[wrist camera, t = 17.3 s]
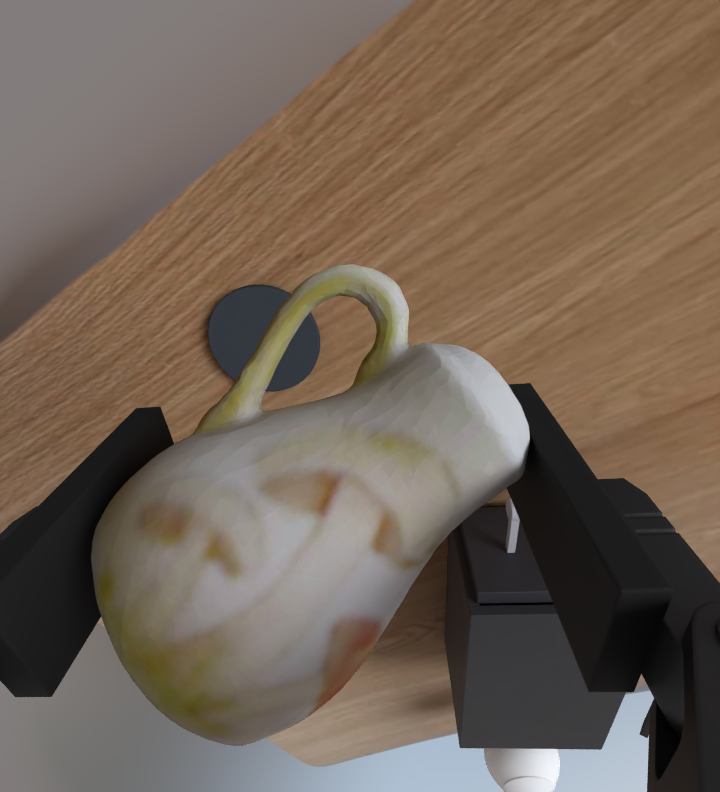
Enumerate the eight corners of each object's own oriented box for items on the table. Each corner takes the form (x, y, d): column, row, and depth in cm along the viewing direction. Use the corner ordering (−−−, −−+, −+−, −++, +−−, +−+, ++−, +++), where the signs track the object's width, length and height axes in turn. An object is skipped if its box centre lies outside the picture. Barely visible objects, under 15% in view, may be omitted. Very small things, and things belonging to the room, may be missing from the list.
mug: (564, 420, 13) (537, 885, 7) (322, 430, 18) (206, 697, 13) (487, 197, 8) (266, 988, 3) (197, 302, 14) (-61, 629, 8)
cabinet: (449, 510, 38) (470, 615, 29) (592, 506, 37) (660, 613, 28) (444, 639, 47) (459, 748, 38) (559, 638, 46) (601, 749, 38)
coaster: (198, 288, 29) (194, 290, 28) (312, 280, 28) (311, 282, 28) (224, 390, 33) (222, 394, 32) (326, 385, 32) (325, 388, 32)
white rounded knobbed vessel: (464, 695, 53) (486, 827, 42) (480, 661, 49) (508, 796, 39) (524, 702, 53) (560, 834, 43) (544, 669, 49) (589, 805, 39)
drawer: (460, 462, 34) (482, 542, 27) (604, 456, 33) (668, 537, 26) (451, 635, 45) (465, 724, 38) (559, 634, 45) (595, 725, 37)
